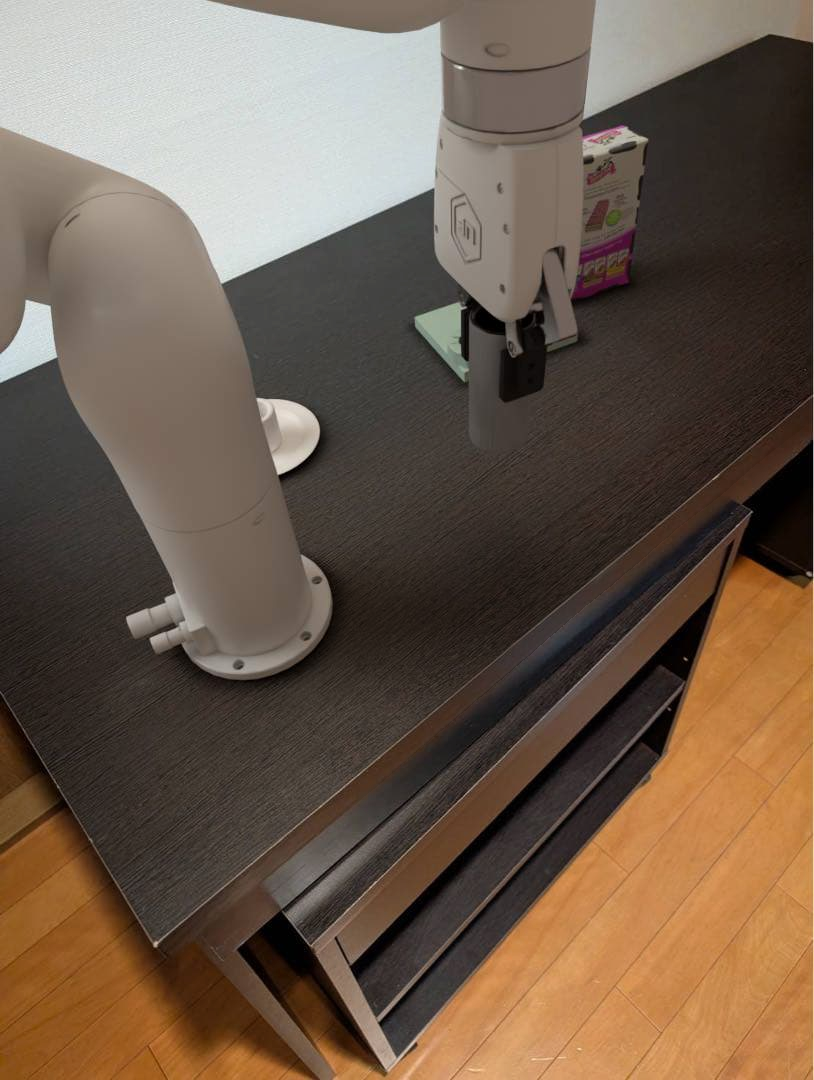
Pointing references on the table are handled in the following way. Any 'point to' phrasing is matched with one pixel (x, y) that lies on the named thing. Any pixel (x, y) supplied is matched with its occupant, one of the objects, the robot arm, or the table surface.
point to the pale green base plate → (454, 336)
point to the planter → (493, 387)
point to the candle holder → (288, 432)
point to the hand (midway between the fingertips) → (501, 371)
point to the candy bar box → (609, 208)
